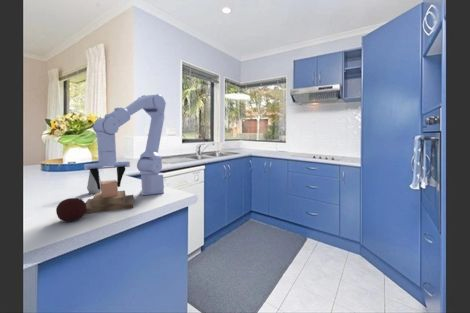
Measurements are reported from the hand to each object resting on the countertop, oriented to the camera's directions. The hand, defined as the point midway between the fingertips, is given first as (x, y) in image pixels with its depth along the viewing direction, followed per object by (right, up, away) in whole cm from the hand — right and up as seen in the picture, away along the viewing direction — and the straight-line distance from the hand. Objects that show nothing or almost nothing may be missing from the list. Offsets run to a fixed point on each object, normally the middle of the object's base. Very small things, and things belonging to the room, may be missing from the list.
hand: (109, 187), depth 83 cm
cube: (0, -3, 0) cm, 3 cm away
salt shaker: (-16, -5, +18) cm, 24 cm away
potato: (-4, -9, -13) cm, 16 cm away
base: (0, -7, +1) cm, 7 cm away
